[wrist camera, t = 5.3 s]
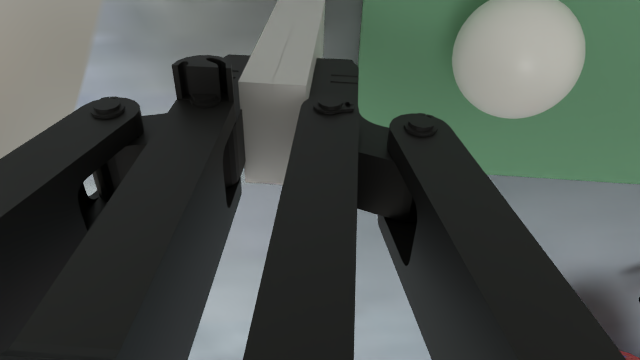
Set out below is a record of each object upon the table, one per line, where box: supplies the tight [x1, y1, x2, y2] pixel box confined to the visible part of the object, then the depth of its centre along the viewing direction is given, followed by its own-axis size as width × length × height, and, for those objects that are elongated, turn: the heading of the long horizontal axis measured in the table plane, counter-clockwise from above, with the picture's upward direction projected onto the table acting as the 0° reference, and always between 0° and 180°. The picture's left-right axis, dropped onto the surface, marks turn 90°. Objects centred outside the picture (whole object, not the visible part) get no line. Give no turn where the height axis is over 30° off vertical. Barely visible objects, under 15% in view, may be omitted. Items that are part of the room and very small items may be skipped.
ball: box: [452, 0, 585, 119], centre depth 16 cm, size 4×4×4 cm
